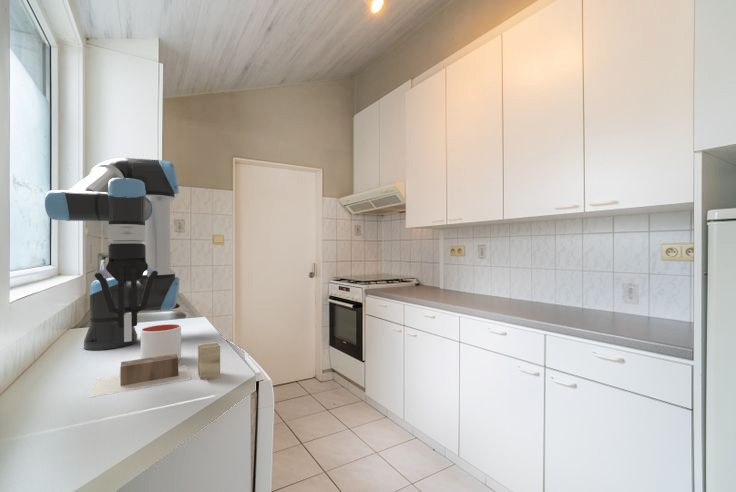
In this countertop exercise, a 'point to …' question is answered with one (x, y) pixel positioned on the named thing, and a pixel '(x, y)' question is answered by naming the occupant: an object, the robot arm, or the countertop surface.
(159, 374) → the walnut block
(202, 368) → the beech block
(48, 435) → the countertop surface
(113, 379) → the board
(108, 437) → the countertop surface
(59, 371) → the countertop surface
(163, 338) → the cup
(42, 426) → the countertop surface
